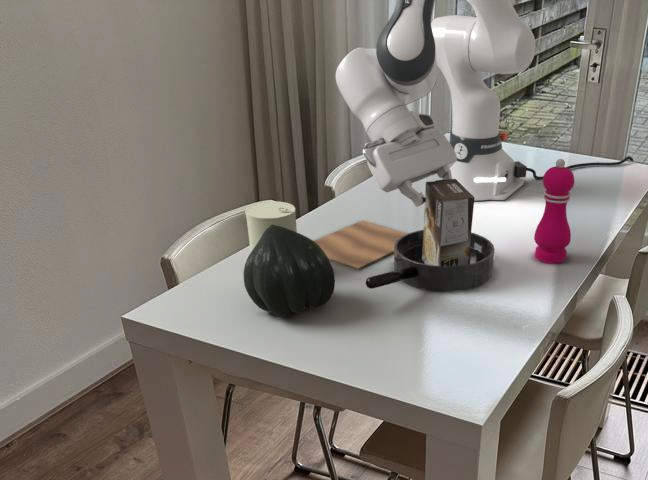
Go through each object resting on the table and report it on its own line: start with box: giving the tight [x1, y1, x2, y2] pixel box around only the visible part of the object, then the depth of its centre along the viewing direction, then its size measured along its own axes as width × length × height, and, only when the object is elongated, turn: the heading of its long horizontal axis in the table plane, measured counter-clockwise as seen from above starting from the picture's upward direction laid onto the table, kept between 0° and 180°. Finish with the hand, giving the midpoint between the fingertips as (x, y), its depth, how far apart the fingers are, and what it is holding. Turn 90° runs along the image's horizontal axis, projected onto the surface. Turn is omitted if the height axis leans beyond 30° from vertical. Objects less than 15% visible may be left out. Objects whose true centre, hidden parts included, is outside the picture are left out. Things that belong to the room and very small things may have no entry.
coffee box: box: [422, 179, 475, 266], centre depth 144 cm, size 9×6×16 cm
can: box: [244, 200, 298, 253], centre depth 144 cm, size 9×9×12 cm
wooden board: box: [313, 220, 407, 271], centre depth 159 cm, size 20×16×1 cm
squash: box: [243, 224, 336, 317], centre depth 131 cm, size 14×15×15 cm
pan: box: [393, 229, 496, 292], centre depth 147 cm, size 19×19×5 cm
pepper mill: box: [533, 158, 575, 265], centre depth 150 cm, size 7×7×20 cm
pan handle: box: [365, 266, 418, 290], centre depth 136 cm, size 14×2×4 cm, turn 145°
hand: (437, 197), depth 142 cm, fingers open, 8 cm apart
